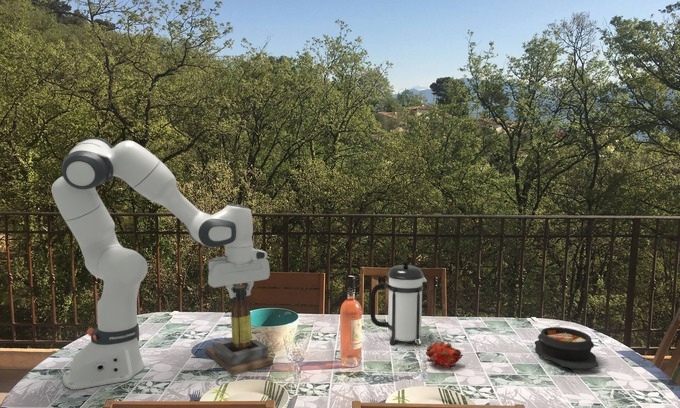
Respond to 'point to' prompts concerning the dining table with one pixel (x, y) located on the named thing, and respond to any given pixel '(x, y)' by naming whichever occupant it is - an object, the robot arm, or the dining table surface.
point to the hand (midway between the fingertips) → (240, 296)
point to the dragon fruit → (443, 354)
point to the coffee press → (402, 303)
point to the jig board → (241, 367)
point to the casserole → (566, 347)
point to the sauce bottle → (240, 319)
